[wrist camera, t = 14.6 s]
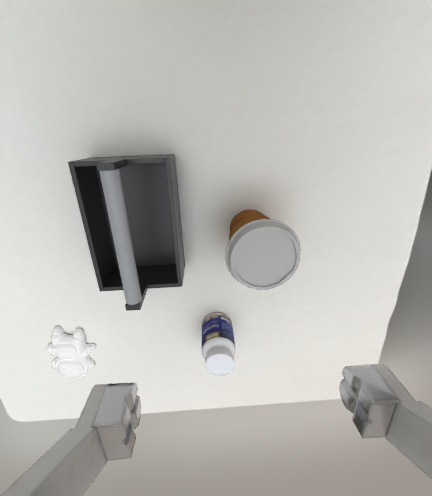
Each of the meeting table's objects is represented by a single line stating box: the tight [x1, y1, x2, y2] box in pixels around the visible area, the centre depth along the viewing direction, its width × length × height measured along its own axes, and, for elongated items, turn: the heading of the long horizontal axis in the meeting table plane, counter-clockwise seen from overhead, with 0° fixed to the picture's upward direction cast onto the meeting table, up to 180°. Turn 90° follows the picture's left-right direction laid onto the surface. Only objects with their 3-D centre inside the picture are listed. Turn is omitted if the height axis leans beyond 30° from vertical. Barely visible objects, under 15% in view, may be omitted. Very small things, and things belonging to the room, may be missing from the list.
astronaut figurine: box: [46, 326, 96, 378], centre depth 49 cm, size 9×12×3 cm
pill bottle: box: [202, 313, 235, 376], centre depth 45 cm, size 6×6×10 cm
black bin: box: [68, 154, 185, 310], centre depth 36 cm, size 18×12×12 cm, turn 2°
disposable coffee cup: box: [226, 210, 300, 290], centre depth 37 cm, size 10×10×12 cm
